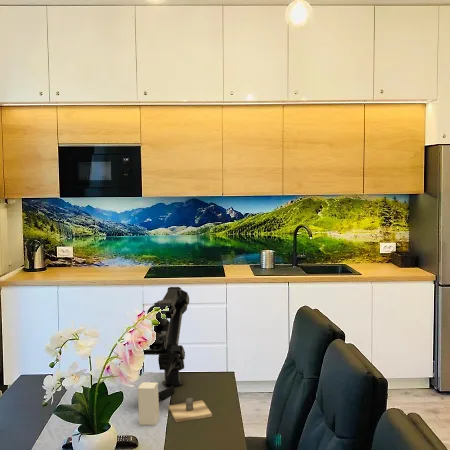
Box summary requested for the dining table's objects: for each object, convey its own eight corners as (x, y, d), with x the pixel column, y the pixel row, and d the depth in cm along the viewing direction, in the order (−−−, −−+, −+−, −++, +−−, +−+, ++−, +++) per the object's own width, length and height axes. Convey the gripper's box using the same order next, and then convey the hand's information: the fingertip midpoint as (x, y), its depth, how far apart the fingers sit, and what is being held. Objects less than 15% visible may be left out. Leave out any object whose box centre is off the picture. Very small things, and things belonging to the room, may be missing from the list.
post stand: (168, 408, 186) (168, 395, 186) (202, 402, 190) (201, 390, 189) (176, 422, 175) (175, 408, 174) (211, 416, 178) (211, 403, 178)
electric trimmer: (177, 395, 199) (177, 386, 199) (147, 409, 187) (147, 400, 186) (169, 393, 201) (169, 384, 201) (139, 407, 189) (139, 398, 189)
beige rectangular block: (144, 417, 179) (142, 382, 178) (159, 418, 178) (157, 382, 178) (139, 424, 174) (137, 388, 173) (155, 425, 173) (153, 388, 172)
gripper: (128, 322, 187) (120, 364, 177) (182, 322, 185) (176, 364, 175) (136, 338, 196) (128, 379, 186) (187, 338, 193) (182, 379, 183)
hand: (153, 375), depth 182 cm, fingers open, 9 cm apart
